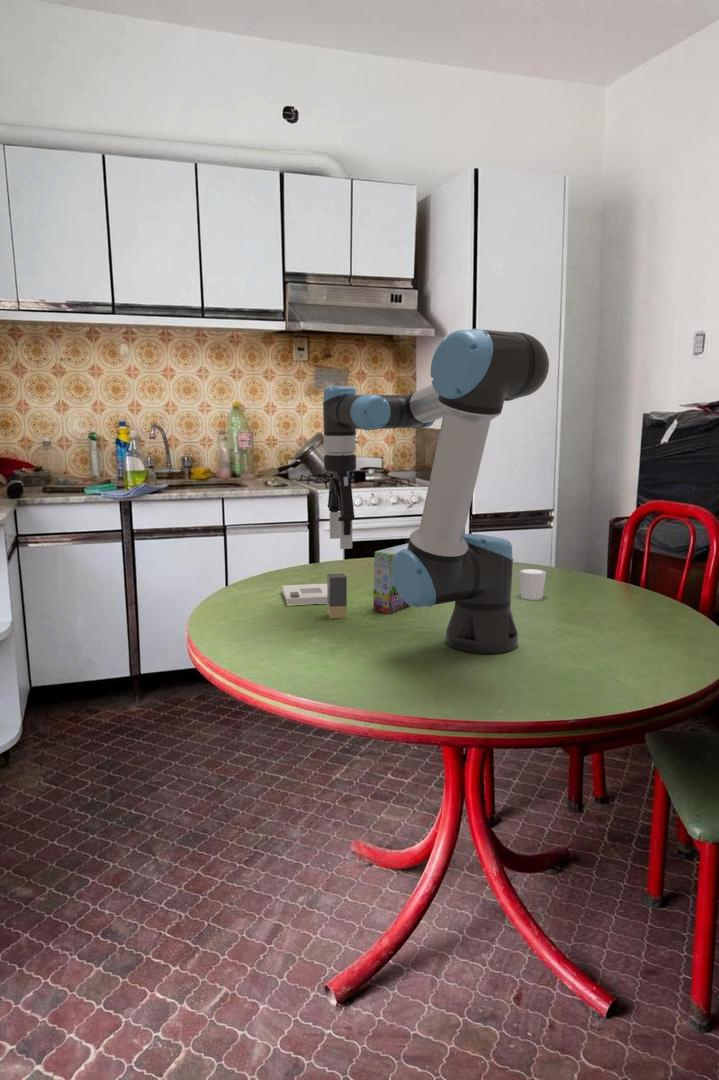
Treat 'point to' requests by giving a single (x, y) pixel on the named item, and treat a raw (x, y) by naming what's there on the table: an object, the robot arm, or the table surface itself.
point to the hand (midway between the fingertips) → (340, 543)
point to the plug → (337, 595)
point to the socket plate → (305, 594)
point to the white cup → (532, 583)
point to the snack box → (386, 582)
